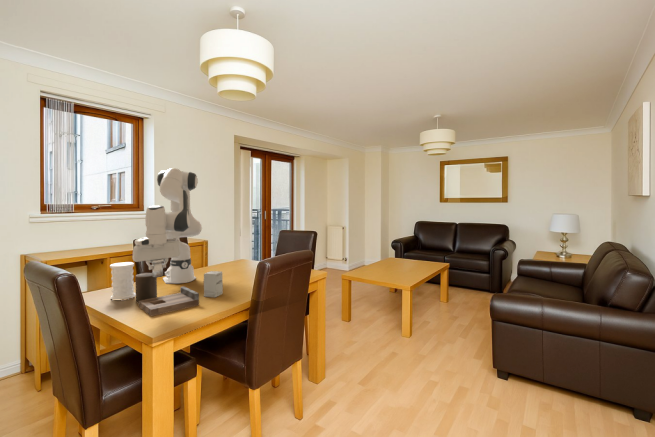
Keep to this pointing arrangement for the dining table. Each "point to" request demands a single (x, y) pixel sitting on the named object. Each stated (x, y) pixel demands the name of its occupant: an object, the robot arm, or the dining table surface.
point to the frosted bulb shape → (157, 267)
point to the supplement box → (213, 284)
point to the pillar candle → (145, 286)
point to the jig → (170, 302)
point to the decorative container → (122, 280)
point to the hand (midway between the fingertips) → (157, 268)
